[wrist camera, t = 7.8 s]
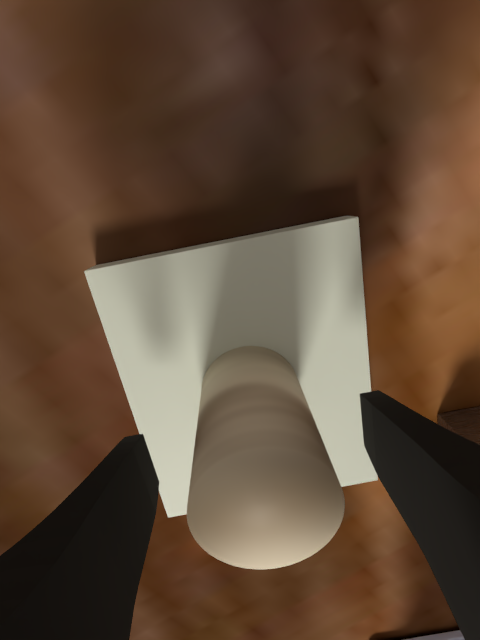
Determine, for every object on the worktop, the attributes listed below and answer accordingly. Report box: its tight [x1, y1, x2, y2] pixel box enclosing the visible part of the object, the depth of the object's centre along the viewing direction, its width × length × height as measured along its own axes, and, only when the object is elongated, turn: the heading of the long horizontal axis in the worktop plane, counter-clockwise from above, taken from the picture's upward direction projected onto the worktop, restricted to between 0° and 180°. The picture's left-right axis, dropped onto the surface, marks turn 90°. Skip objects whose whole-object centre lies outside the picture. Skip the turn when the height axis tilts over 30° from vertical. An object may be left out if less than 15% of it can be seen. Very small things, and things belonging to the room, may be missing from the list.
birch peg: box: [187, 346, 345, 569], centre depth 12 cm, size 4×4×6 cm
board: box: [84, 216, 378, 517], centre depth 15 cm, size 12×10×1 cm
